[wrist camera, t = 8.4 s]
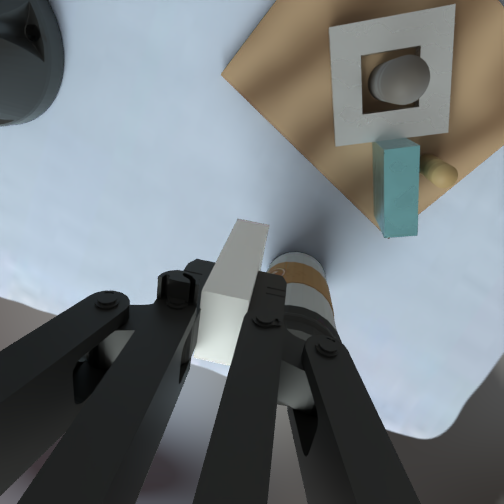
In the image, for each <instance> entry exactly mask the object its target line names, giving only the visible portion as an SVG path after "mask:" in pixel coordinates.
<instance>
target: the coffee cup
mask: <svg viewBox="0 0 504 504" xmlns="http://www.w3.org/2000/svg"><path fill="white" fill-rule="evenodd" d="M267 273H271V274H276V275H281V276H283V277H284V279H285V281H286V282H287V288H286V297H285V308H284V318H283V321H284V325H285V327H286V328H287V330H288V331H289V332H291V333H292V334H293V335H295V336H296V337H298V338H300V339H303V340H305V341H306V340H307V339H308V338H309V337H311V336H313V335H325V336H330V337H332V338H334V339H337V340H338V341H339V342H341V340H340V337H339V335H338V333H337V331H336V326H335V321H334V312H333V307H332V302H331V297H330V292H329V288H328V285H327V282H326V277H325V273H324V270H323V268H322V266H321V265H320V263H319V262H318V261H317V260H316V259H314V258H313V257H312V256H310V255H307V254H305V253H299V252H290V253H286V254H283V255H280V256H279V257H278V258H276V259H275V260H274V261H273V262H272V263H271V264H270V266H269V268H268V270H267ZM341 343H342V342H341ZM277 404H278V405H285V406H287V405H286V404H285V403H283V402H281V401H279V400H277Z"/></svg>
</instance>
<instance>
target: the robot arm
mask: <svg viewBox="0 0 504 504" xmlns="http://www.w3.org/2000/svg"><path fill="white" fill-rule="evenodd" d="M63 66H64V56H63V45H62V39H61V35H60V31H59V27H58V24H57V21H56V18H55V16H54V13H53V11H52V9H51V7H50V5H49V3H48V1H47V0H0V126H10V125H18V124H23V123H27V122H30V121H32V120H34V119H36V118H37V117H39V116H40V115H42V114H43V113H44V112H45V111H46V110H47V109H48V108H49V107H50V105H51V104H52V102H53V101H54V99H55V97H56V95H57V93H58V91H59V88H60V85H61V81H62V75H63ZM268 229H269V225H267V224H262V223H257V222H252V221H247V220H242V219H237V221H236V223H235V225H234V227H233V229H232V231H231V233H230V235H229V237H228V239H227V241H226V243H225V245H224V247H223V249H222V251H221V253H220V255H219V257H218V259H217V261H216V263H214V262H209V261H205V260H200V259H196V260H194V261H192V262H190V263H188V265H187V266H186V268H185V269H184V271H180V270H173V271H167V272H164V273H162V274H161V275H159V276H158V288H157V299H156V301H155V302H154V304H149V305H130V300H129V298H128V297H127V296H126V295H124V294H123V293H121V292H117V291H101V292H97V293H94V294H92V295H90V296H88V297H87V298H85V299H83V300H82V301H80V302H79V303H77V304H75V305H74V306H72V307H71V308H69V309H67V310H66V311H64V312H62V313H61V314H59V315H58V316H56V317H54V318H53V319H51V320H50V321H48V322H47V323H45V324H43V325H42V326H40V327H39V328H37V329H35V330H34V331H32V332H31V333H29V334H27V335H26V336H24V337H22V338H21V339H19V340H18V341H16V342H14V343H13V344H11V345H10V346H8V347H7V348H5V349H3V350H2V351H0V496H1V495H2V494H3V493H4V492H5V491H6V490H7V489H8V488H9V487H10V486H11V485H12V484H13V483H14V482H15V481H16V480H17V479H18V478H19V477H20V476H21V475H22V474H23V473H24V472H25V471H26V470H27V469H28V468H29V467H30V466H31V465H32V464H33V463H34V462H35V461H36V460H37V459H38V458H40V457H41V455H43V454H44V453H45V452H46V451H47V450H48V449H49V448H50V447H51V446H52V445H53V444H54V443H55V442H56V441H57V440H58V439H59V438H60V437H61V436H62V435H63V434H64V433H65V432H66V433H65V434H64V435H63V437H62V438H61V440H60V441H59V443H58V444H57V446H56V447H55V449H54V450H53V452H52V453H51V455H50V456H49V458H48V459H47V460H46V462H45V463H44V465H43V466H42V468H41V469H40V471H39V472H38V474H37V475H36V477H35V478H34V479H33V481H32V483H31V484H30V485H29V487H28V488H27V490H26V491H25V493H24V494H23V496H22V497H21V499H20V500H19V501H18V503H17V504H135V503H136V501H137V498H138V495H139V493H140V491H141V488H142V486H143V483H144V481H145V478H146V476H147V473H148V471H149V469H150V466H151V463H152V461H153V459H154V456H155V454H156V451H157V449H158V446H159V444H160V441H161V439H162V436H163V434H164V431H165V429H166V426H167V423H168V421H169V419H170V416H171V414H172V411H173V409H174V407H175V404H176V401H177V399H178V396H179V394H180V391H181V389H182V387H183V384H184V382H185V379H186V377H187V374H188V372H189V369H190V362H191V356H192V354H193V351H194V349H195V352H194V358H197V359H201V360H206V361H210V362H215V363H219V364H224V365H228V366H230V369H229V373H228V376H227V380H226V384H225V387H224V391H223V394H222V398H221V402H220V406H219V409H218V413H217V416H216V420H215V424H214V427H213V431H212V435H211V438H210V442H209V446H208V449H207V453H206V457H205V460H204V464H203V467H202V471H201V475H200V478H199V482H198V486H197V489H196V493H195V497H194V500H193V504H267V500H268V489H269V478H270V469H271V459H272V448H273V439H274V428H275V419H276V408H277V400H279V401H281V402H283V403H285V404H286V405H287V409H288V410H287V411H288V416H289V420H290V425H291V429H292V434H293V439H294V443H295V447H296V452H297V457H298V461H299V466H300V471H301V475H302V480H303V484H304V488H305V493H306V498H307V502H308V504H421V503H420V501H419V499H418V497H417V495H416V493H415V491H414V489H413V486H412V484H411V482H410V480H409V478H408V476H407V474H406V472H405V470H404V468H403V466H402V463H401V461H400V459H399V457H398V455H397V453H396V451H395V449H394V447H393V444H392V442H391V440H390V438H389V436H388V434H387V432H386V430H385V428H384V425H383V423H382V421H381V419H380V417H379V415H378V413H377V411H376V409H375V407H374V404H373V402H372V400H371V398H370V396H369V394H368V392H367V390H366V388H365V385H364V383H363V381H362V379H361V377H360V375H359V373H358V371H357V369H356V367H355V364H354V362H353V360H352V358H351V356H350V354H349V352H348V350H347V349H346V347H345V346H344V345H343V344H342V343H341V342H339V341H338V340H337V339H334V338H332V337H330V336H325V335H313V336H311V337H309V338H308V339H307V340H306V341H305V340H303V339H300V338H298V337H296V336H295V335H293V334H292V333H291V332H289V331H288V330H287V328H286V327H285V325H284V321H283V318H284V308H285V297H286V288H287V282H286V281H285V279H284V277H283V276H281V275H276V274H271V273H267V272H262V271H260V270H261V265H262V260H263V254H264V249H265V244H266V239H267V234H268Z"/></svg>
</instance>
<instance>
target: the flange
mask: <svg viewBox="0 0 504 504" xmlns="http://www.w3.org/2000/svg"><path fill="white" fill-rule="evenodd" d="M455 6H456V4H452V5H447V6H441V7H436V8H431V9H425V10H420V11H415V12H409V13H404V14H398V15H393V16H388V17H382V18H377V19H371V20H366V21H361V22H355V23H350V24H345V25H339V26H334V27H329V29H328V33H329V51H330V69H331V86H332V104H333V122H334V140H335V146H344V145H353V144H361V143H369V142H372V149H373V204H374V217H375V219H376V221H377V223H378V225H379V227H380V229H381V231H382V234H383V236H384V238H390V237H403V236H417V232H418V199H419V165H420V145H418V144H416V143H415V142H413V141H411V140H409V139H407V138H409V137H417V136H425V135H433V134H441V133H448V128H449V111H450V94H451V76H452V59H453V41H454V24H455ZM414 47H416V56H418V57H420V58H422V59H423V60H424V61H425V62H426V63H427V65H428V67H429V70H430V82H429V85H428V88H427V89H426V91H425V93H424V94H423V95H422V96H421V97H420V98H419V99H418V100H416V101H415V106H411V107H404V108H397V109H389V110H382V111H375V112H368V113H362V81H361V56H367V55H373V54H379V53H385V52H391V51H397V50H403V49H408V48H414Z"/></svg>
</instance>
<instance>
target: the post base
mask: <svg viewBox="0 0 504 504" xmlns="http://www.w3.org/2000/svg"><path fill="white" fill-rule="evenodd" d="M452 4H456V6H455V24H454V41H453V59H452V76H451V94H450V111H449V128H448V133H441V134H433V135H425V136H417V137H409V138H407V139H409V140H411V141H413V142H415V143H416V144H418V145H420V165H419V199H418V215H419V214H420V213H421V212H422V211H424V210H425V209H426V208H427V207H428V206H430V205H431V204H432V203H433V202H435V201H436V200H437V199H438V198H439V197H441V196H442V195H443V194H444V193H446V192H447V191H448V190H449V189H451V188H452V187H453V186H454V185H455V184H457V183H458V182H459V181H460V180H462V179H463V178H464V177H465V176H466V175H468V174H469V173H470V172H471V171H473V170H474V169H475V168H476V167H477V166H479V165H480V164H481V163H482V162H484V161H485V160H486V159H487V158H489V157H490V156H491V155H492V154H493V153H495V152H496V151H497V150H498V149H500V148H501V147H502V146H503V145H504V7H503V5H502V4H501V3H500V2H499V0H276V2H275V3H274V4H273V6H272V7H271V8H270V10H269V11H268V12H267V14H266V15H265V16H264V18H263V19H262V20H261V21H260V23H259V24H258V25H257V27H256V28H255V29H254V31H253V32H252V33H251V35H250V36H249V37H248V39H247V40H246V41H245V43H244V44H243V45H242V47H241V48H240V49H239V51H238V52H237V53H236V55H235V56H234V57H233V59H232V60H231V61H230V63H229V64H228V65H227V67H226V68H225V69H224V71H223V72H222V73H221V76H222V77H223V78H224V79H226V80H227V81H228V82H229V83H230V84H231V85H232V86H233V87H234V88H235V89H236V90H237V91H238V92H239V93H240V94H241V95H242V96H243V97H244V98H245V99H246V100H247V101H248V102H249V103H250V104H251V105H252V106H253V107H254V108H255V109H256V110H257V111H258V112H259V113H260V114H261V115H262V116H263V117H264V118H265V119H267V120H268V121H269V122H270V123H271V124H272V125H273V126H274V127H275V128H276V129H277V130H278V131H279V132H280V133H281V134H282V135H283V136H284V137H285V138H286V139H287V140H288V141H289V142H290V143H291V144H292V145H293V146H294V147H295V148H296V149H297V150H298V151H299V152H300V153H301V154H302V155H303V156H304V157H305V158H306V159H308V160H309V161H310V162H311V163H312V164H313V165H314V166H315V167H316V168H317V169H318V170H319V171H320V172H321V173H322V174H323V175H324V176H325V177H326V178H327V179H328V180H329V181H330V182H331V183H332V184H333V185H334V186H335V187H336V188H337V189H338V190H339V191H340V192H341V193H342V194H343V195H344V196H345V197H346V198H347V199H349V200H350V201H351V202H352V203H353V204H354V205H355V206H356V207H357V208H358V209H359V210H360V211H361V212H362V213H363V214H364V215H365V216H366V217H367V218H368V219H369V220H370V221H371V222H372V223H373V224H374V225H375V226H376V227H377V228H378V229H379V230H380V231H381V229H380V227H379V225H378V223H377V221H376V219H375V217H374V204H373V149H372V142H369V143H361V144H353V145H344V146H335V140H334V122H333V104H332V86H331V69H330V51H329V33H328V29H329V27H334V26H339V25H345V24H350V23H355V22H361V21H366V20H371V19H377V18H382V17H388V16H393V15H398V14H404V13H409V12H415V11H420V10H425V9H431V8H436V7H441V6H447V5H452ZM361 81H362V113H368V112H375V111H382V110H389V109H397V108H404V107H411V106H415V101H416V100H418V99H419V98H420V97H421V96H422V95H423V94H424V93H425V91H426V89H427V88H428V85H429V82H430V70H429V67H428V65H427V63H426V62H425V61H424V60H423V59H422V58H420V57H418V56H416V47H414V48H408V49H403V50H397V51H391V52H385V53H379V54H373V55H367V56H361ZM381 232H382V231H381ZM388 239H389V238H388Z"/></svg>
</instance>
